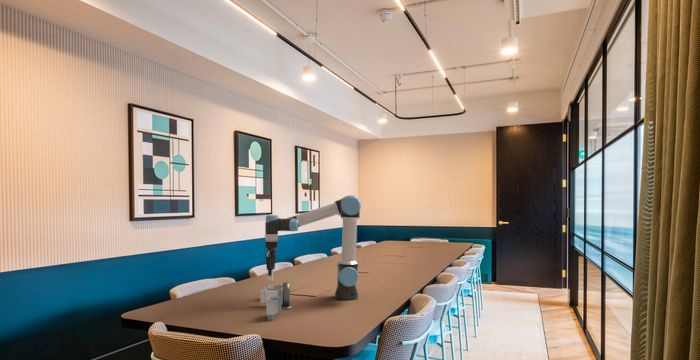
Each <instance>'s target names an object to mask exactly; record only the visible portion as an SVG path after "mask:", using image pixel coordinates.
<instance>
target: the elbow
mask: <svg viewBox="0 0 700 360" xmlns="http://www.w3.org/2000/svg"><path fill="white" fill-rule="evenodd" d="M259 295H260V298H259V299H260V300H259V302H260V303H261V304H262V303H263V304H264V303H265V304H266V303H267V302H268V301H270V300H271V297H281V306H282V305H283V289H279V290H278V291H275V290H268V289H263V288H262V289H260V293H259Z"/></svg>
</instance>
